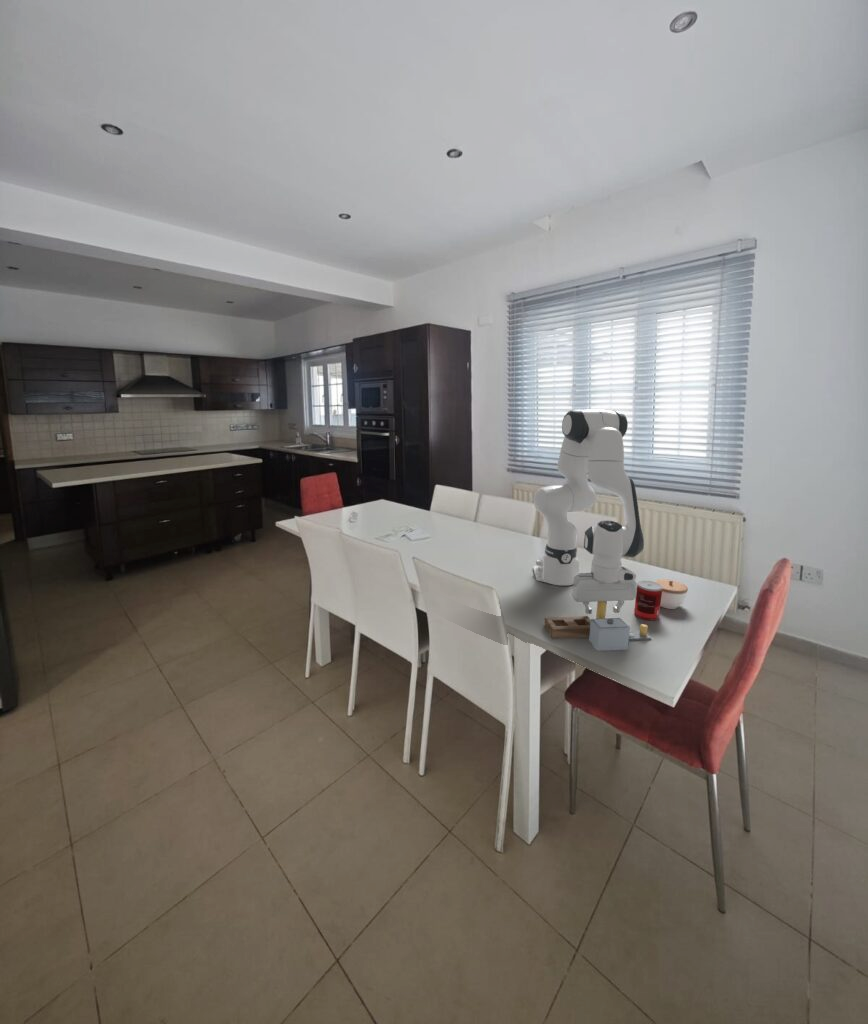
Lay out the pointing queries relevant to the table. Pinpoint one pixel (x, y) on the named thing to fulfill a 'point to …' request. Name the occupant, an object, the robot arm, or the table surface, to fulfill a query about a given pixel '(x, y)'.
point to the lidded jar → (672, 593)
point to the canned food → (648, 600)
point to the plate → (637, 637)
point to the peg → (601, 609)
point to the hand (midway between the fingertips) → (602, 612)
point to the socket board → (568, 626)
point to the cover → (609, 634)
